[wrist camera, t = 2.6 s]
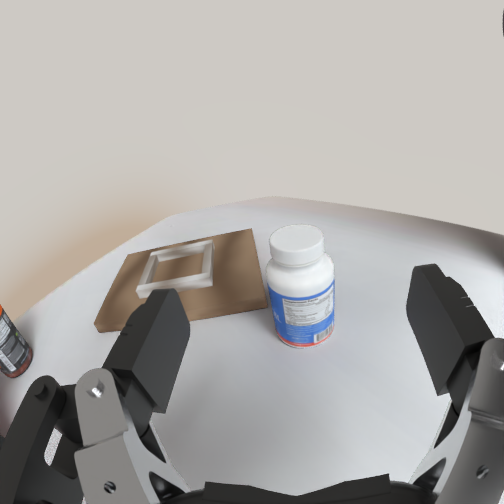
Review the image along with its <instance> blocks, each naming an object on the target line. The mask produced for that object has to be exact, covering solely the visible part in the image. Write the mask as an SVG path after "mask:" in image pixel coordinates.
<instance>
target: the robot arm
mask: <svg viewBox="0 0 504 504" xmlns="http://www.w3.org/2000/svg"><path fill="white" fill-rule="evenodd" d="M503 35H504V13H503ZM406 311H407V317H408V320H409V323H410V325H411V327H412V330H413V332H414V334H415V337H416V339H417V342H418V344H419V347H420V349H421V352H422V354H423V357H424V360H425V362H426V365H427V368H428V370H429V373H430V376H431V379H432V381H433V384H434V387H435V390H436V393H437V396H439V395H443V394H446V393H450V396H451V400H450V401H449V403H448V406H447V408H446V411H445V414H444V416H443V419H442V421H441V424H440V426H439V429H438V431H437V433H436V436H435V438H434V440H433V442H432V445H431V447H430V449H429V451H428V453H427V454H426V456H425V457H424V459H423V460H422V461H421V463H420V464H419V466H418V467H417V469H416V470H415V472H414V474H413V475H412V477H411V479H410V481H409V482H408V483H405V482H399V481H390V479H389V474H384V475H380V476H375V477H369V478H364V479H358V480H351V481H345V482H342V483H339V484H336V485H333V486H330V487H327V488H324V489H321V490H317V491H314V492H311V493H307V494H303V495H299V496H292V495H287V494H282V493H277V492H273V491H268V490H264V489H260V488H256V487H253V486H249V485H234V484H222V483H213V482H205V488H204V489H200V490H195V491H191V490H190V488H189V487H188V485H187V483H186V482H185V480H184V479H183V478H182V476H181V475H180V474H179V473H178V472H177V471H176V469H175V468H174V466H173V465H172V463H171V461H170V459H169V457H168V455H167V453H166V451H165V449H164V447H163V445H162V443H161V440H160V438H159V436H158V434H157V432H156V429H155V427H154V425H153V423H152V421H151V420H150V418H151V415H152V412H157V413H164V414H165V412H166V409H167V406H168V402H169V399H170V396H171V393H172V390H173V386H174V383H175V380H176V377H177V374H178V371H179V368H180V365H181V362H182V358H183V355H184V352H185V349H186V346H187V343H188V340H189V337H190V324H189V320H188V318H187V315H186V313H185V310H184V308H183V305H182V303H181V300H180V297H179V295H178V292H177V291H176V290H175V289H174V288H167V289H154V290H152V291H151V293H150V295H149V296H148V298H147V300H146V302H145V304H141V305H140V306H139V307H138V308H137V309H136V310H135V311H133V312H132V313H131V315H130V317H129V318H128V320H127V322H126V324H125V327H123V329H122V331H121V333H120V335H119V336H118V338H117V340H116V342H115V344H114V345H113V347H112V349H111V351H110V353H109V355H108V357H107V359H106V360H105V362H104V364H103V366H102V368H97V369H93V370H90V371H88V372H87V373H85V374H84V375H83V376H82V377H81V378H80V379H79V381H78V382H77V384H73V385H65V386H60V385H59V384H58V383H57V381H56V380H55V379H54V378H53V377H51V376H48V375H46V376H41V377H39V378H38V379H36V380H35V381H34V382H33V383H32V384H31V386H30V387H29V389H28V391H27V393H26V395H25V397H24V399H23V401H22V403H21V405H20V407H19V409H18V411H17V413H16V415H15V417H14V419H13V422H12V424H11V426H10V428H9V431H8V433H7V435H6V438H5V440H4V442H3V445H2V447H1V450H0V504H82V500H83V496H84V497H85V500H86V503H87V504H498V503H499V500H500V498H501V495H502V493H503V490H504V339H502V338H495V337H494V336H493V334H492V332H491V331H490V329H489V327H488V326H487V324H486V322H485V321H484V319H483V318H482V316H481V314H480V313H479V311H478V310H477V308H476V307H475V306H474V304H473V302H472V301H471V299H470V298H468V295H467V293H466V292H465V290H464V289H463V288H462V286H461V285H460V284H459V283H457V282H456V281H455V280H453V279H452V278H451V277H446V276H445V275H444V274H443V272H442V271H441V270H440V268H439V267H438V266H437V265H436V264H428V265H421V266H415V267H414V269H413V272H412V277H411V283H410V288H409V293H408V298H407V304H406ZM54 428H55V429H57V430H58V431H59V432H60V433H61V434H62V437H61V439H60V442H59V445H58V447H57V450H56V453H55V456H54V459H53V461H52V464H51V465H50V466H49V465H48V464H47V463H46V461H45V459H44V453H45V450H46V447H47V444H48V442H49V439H50V436H51V434H52V431H53V429H54Z"/></svg>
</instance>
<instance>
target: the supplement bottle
mask: <svg viewBox="0 0 504 504" xmlns="http://www.w3.org/2000/svg"><path fill="white" fill-rule="evenodd" d="M31 358H32V350H31V348H30V347H29V345H28V344H27V342H26V341H25V340H24V338H23V337H22V336H21V334H20V333H19V331H18V330H17V329H16V327H15V326H14V324H13V323H12V322H11V320H10V319H9V317H8V316H7V314H6V313H5V311H4V310H3V308H2V306H1V305H0V370H1V371H2V372H3V373H4V374H5V375H6V376H7V377H10V378H14V377H17V376H19V375H20V374H22V373H23V372H24V371H25V370H26V369H27V367H28V366H29V364H30V362H31Z"/></svg>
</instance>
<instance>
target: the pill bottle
mask: <svg viewBox="0 0 504 504" xmlns="http://www.w3.org/2000/svg"><path fill="white" fill-rule="evenodd" d="M269 243H270V253H271V256H272V259H271V260H270V261H269V263H268V265H267V268H266V278H267V284H268V289H269V294H270V299H271V305H272V310H273V316H274V321H275V327H276V331H277V334H278V336H279V338H280V339H281V340H282V341H283V342H284V343H286V344H287V345H289V346H292V347H296V348H312V347H315V346H318V345H320V344H322V343H323V342H325V341H326V340H327V339H328V338H329V337H330V335H331V334H332V332H333V328H334V264H333V261H332V259H331V257H330V256H329V255H328V254H327V253H326V252H324V250H325V246H324V236H323V233H322V231H321V230H320V229H319V228H317V227H315V226H312V225H306V224H295V225H289V226H285V227H282V228H280V229H278V230H276V231H275V232H274V233H273V234H272V235H271V236H270V239H269Z"/></svg>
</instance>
